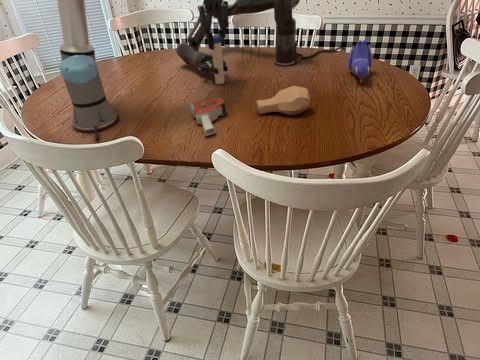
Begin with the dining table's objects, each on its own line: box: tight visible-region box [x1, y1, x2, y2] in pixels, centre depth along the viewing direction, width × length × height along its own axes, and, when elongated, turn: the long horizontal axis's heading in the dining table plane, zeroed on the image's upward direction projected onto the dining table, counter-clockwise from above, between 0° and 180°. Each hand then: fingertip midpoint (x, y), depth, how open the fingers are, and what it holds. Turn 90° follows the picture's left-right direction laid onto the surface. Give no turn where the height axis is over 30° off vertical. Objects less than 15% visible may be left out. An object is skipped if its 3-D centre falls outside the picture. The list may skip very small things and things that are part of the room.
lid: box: [213, 34, 223, 43], centre depth 149 cm, size 5×5×2 cm
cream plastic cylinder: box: [211, 42, 225, 85], centre depth 154 cm, size 4×4×19 cm
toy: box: [347, 39, 373, 84], centre depth 152 cm, size 10×17×25 cm
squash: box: [255, 85, 312, 116], centre depth 130 cm, size 11×20×9 cm, turn 92°
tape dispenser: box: [188, 97, 226, 137], centre depth 128 cm, size 18×5×20 cm
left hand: (216, 47), depth 151 cm, fingers closed on lid, 5 cm apart
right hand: (221, 70), depth 155 cm, fingers closed on cream plastic cylinder, 4 cm apart
